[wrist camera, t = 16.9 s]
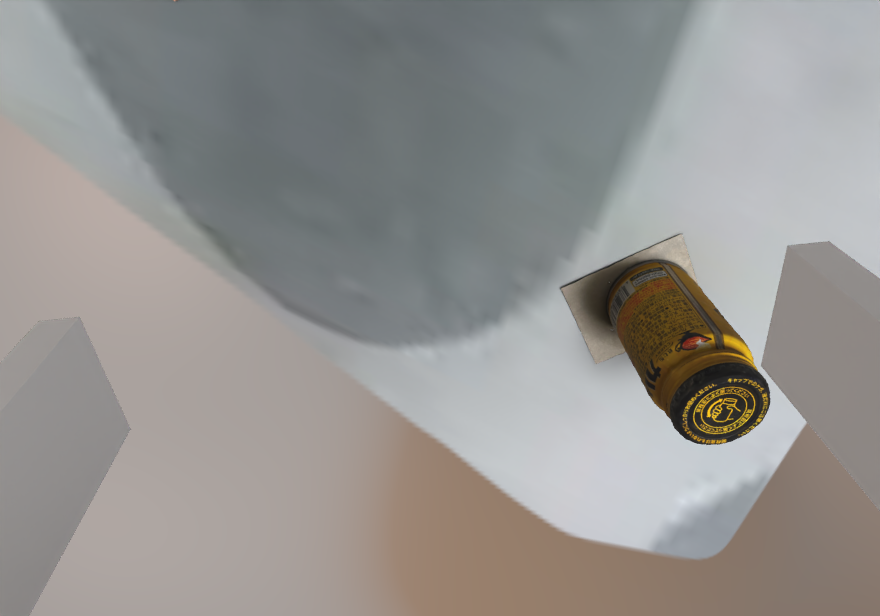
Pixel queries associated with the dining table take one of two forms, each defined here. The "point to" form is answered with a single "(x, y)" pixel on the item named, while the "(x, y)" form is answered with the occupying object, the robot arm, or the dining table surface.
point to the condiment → (672, 342)
